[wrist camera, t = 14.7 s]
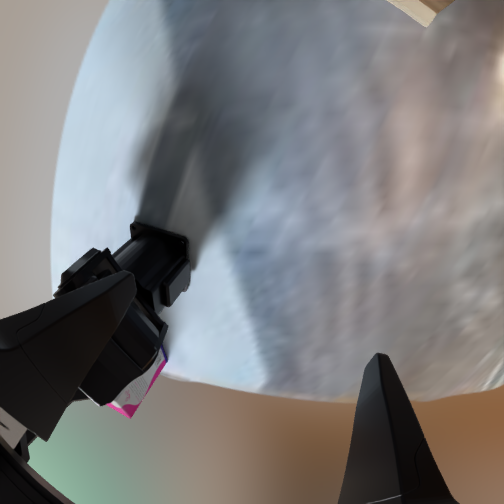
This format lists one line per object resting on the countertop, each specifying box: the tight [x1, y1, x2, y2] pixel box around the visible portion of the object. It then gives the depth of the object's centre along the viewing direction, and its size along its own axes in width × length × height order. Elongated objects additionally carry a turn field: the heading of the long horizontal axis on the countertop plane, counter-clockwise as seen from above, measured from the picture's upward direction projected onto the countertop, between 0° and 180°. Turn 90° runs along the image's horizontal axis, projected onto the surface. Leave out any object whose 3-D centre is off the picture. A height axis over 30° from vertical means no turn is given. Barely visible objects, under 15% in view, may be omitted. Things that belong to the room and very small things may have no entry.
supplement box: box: [106, 345, 168, 418], centre depth 34 cm, size 6×6×12 cm
